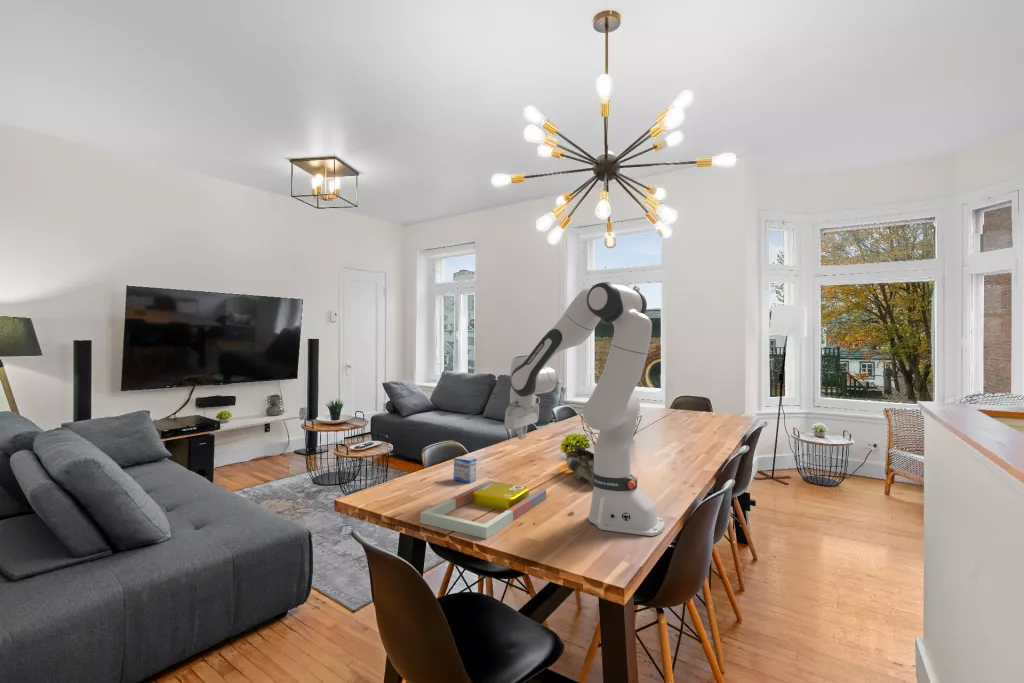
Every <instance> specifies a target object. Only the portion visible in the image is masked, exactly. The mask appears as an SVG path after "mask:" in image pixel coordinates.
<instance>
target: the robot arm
mask: <svg viewBox="0 0 1024 683" xmlns="http://www.w3.org/2000/svg"><path fill="white" fill-rule="evenodd" d="M647 303H648V302H647V299H646V297H645V296H644V294H642V292H640V291H639V290H637V289H634V288H631V287H628V286H626V285H623V284H619V283H613V282H608V281H602V282H598V283H596V284H593V285H592V287H589V288H588V287H586V288H584V289H582V290H581V291H580V292H579V293H578V294H577V296H575V297H574V299H573V300H572V302H571V303H570V304H569V305H568V307H567V308H566V310H565V311H564V313H563V314H562V316H561V317H560V319H559V320H558V321H557V322H556V324H555V325H554V326H553V327H552V328H551V329H550V330H549V331H548V332H547V333H546V334H545V335H544V336H543V337H542V338H541V339H540V341H539V342H538V343H537V345H536V346H535V347H534V348H533V350H532V351H531V352H530V354H529V355H526V354H525V355H520V356H515V357H514V358H513V359H512V361H511V365H510V376H509V377H510V386H511V387H510V390H509V394H510V395H509V405H508V406H507V408H506V409H505V413H504V428H505V430H508V431H509V430H511V431H514V430H515V431H516V433H517V439H518V440H523V439H526V438H527V434H526V433H527V431H528V428H529V425H533V424H535V423H538V420H539V415H540V405H539V404H540V403H541V398H540V397H538V396H536V395H539V394H546V393H549V392H552V391H554V390H555V389H556V387H557V385H558V373H557V372H556V370H555V369H554V368H553V367H552V366H548V365H547V364H548V363H549V362H550V360H551V359H552V358H553V357H554V356H555V355H556V354H558V353H560V352H562V351H565V350H567V349H569V348H574V347H577V346H580V345H581V344H583V343H584V342H586V340H587V339H588V338H590V336H591V334H593V332H594V330H595V328H596V326H598V324H599V323H600V321H601V320H602V321H603V322H605V323H606V324H612V326H613V330H614V332H613V336H612V338H611V342H610V347H609V351H608V355H607V358H606V362H605V366H604V368H603V371H602V374H601V375H600V378H599V379H598V381H597V383H596V385H595V387H594V390H593V392H592V393H591V395H590V397H589V398H588V400H587V401H586V402H585V404H584V405H583V409H582V415H583V416H582V417H583V419H584V421H585V423H586V425H587V426H589V428H592V429H593V430H596V431H599V433H598V436H597V439H596V442H595V443H594V445H593V446H594V447H593V454H594V471H593V472H592V484H591V489H592V498H591V503H590V509H589V513H588V515H587V519H588V521H589V522H590V523H592V524H593V525H595V526H596V527H597V528H598V529H599V530H602V531H609V532H616V533H624V534H633V535H640V536H648V537H653V536H657V535H659V534H661V533H662V532H663V531H664V530H665V525H666V523H665V520H664V519H663V518H662V517H660V516H658V514H657V513H658V512H657V507H656V504H655V503H654V501H653V500H652V499H651V498H650V497H648V495H646V494H645V493H644V492H642V491H641V490H640V488H638V481H639V480H638V479H639V477H638V476H636V477H635V476H634V475H633V474H632V473H631V472H632V471H631V470H632V467H631V466H632V465H631V464H632V446H633V445H632V444H633V440H634V434H635V431H636V430H635V429H636V424H637V418H638V415H639V414H640V410H641V403H640V402H639V399H638V398H637V396H636V395H635V394H633V392H634V390H635V388H636V386H637V385H638V383H639V382H640V380H641V378H642V376H643V372H644V369H645V364H646V361H647V358H648V353H649V349H650V345H651V341H652V340H651V339H652V331H653V330H652V329H653V322H652V320H651V318H650V317H649V316H647V315H646V314H645V313H646V311H647V309H648V308H647V306H648V304H647Z"/></svg>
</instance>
